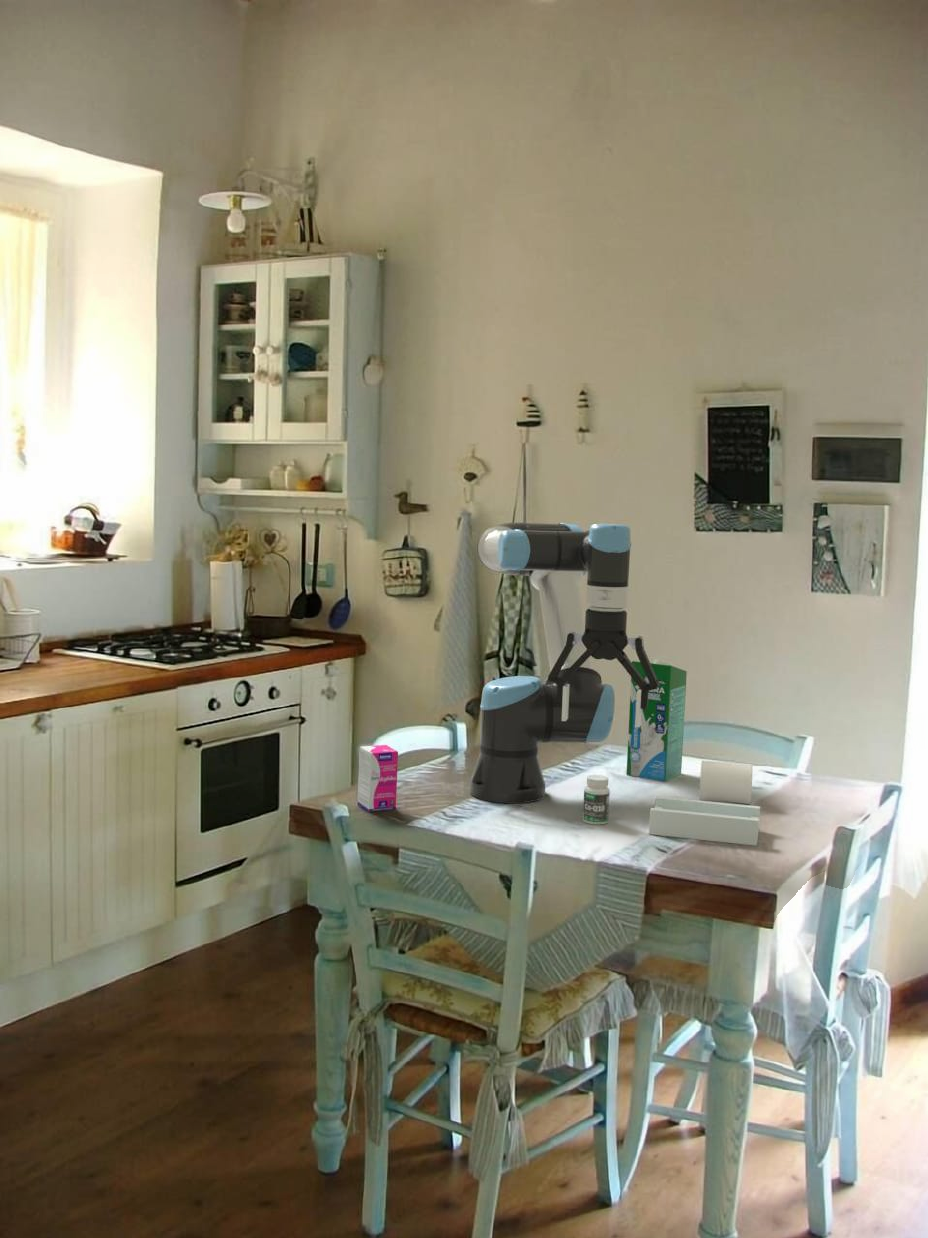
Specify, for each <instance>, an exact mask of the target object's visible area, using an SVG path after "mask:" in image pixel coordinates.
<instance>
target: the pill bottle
mask: <svg viewBox="0 0 928 1238" xmlns="http://www.w3.org/2000/svg"><path fill="white" fill-rule="evenodd" d="M608 786H609V777H608V776H606V775H601V774H590V775H587V777H586V786H585V787H584V790H583V805H582V807H583V808H582V809H583V810H582V812H583V813H582V820H583V822H584V823H586V824H589V825H595V826H596V825H598V826H599V825H600V826H601V825H605V824H607V823H608V822H609V812H610V811H609V807H610V791H611V790H610V788H609V787H608Z"/></svg>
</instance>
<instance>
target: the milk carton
mask: <svg viewBox="0 0 928 1238" xmlns="http://www.w3.org/2000/svg"><path fill="white" fill-rule="evenodd" d="M631 663H632V664H633V665H634V666H635V668H636V669H637V670H638V672H639V673H640V674H641V676H642V677H643V678H644V680H645V681H646V682H647V683H649V681H648V678H647V676H646V674H645V672H644V669H643V667H642V665H641V662H640V661H638V660H637V661H636V660H631ZM650 664H651V666H652V668H653V670H654V673H655V675H656V677H657V680H658V682H659V686H658V687H657V689H653V690H650V691H649V693H648V706H647V708H646V709H642V713H641V725H640V727H635V719H636V699H637V691H638V690H641V689H640V688H639V686H638V685H637V684H636V683H635V681H634V680H633V679H632V677H631V676H630V689H629V690H630V692H629V693H630V697H629V713H628V714H629V715H628V716H629V717H628V733H627V735H628V736H627V751H626V752H627V753H626V755H627V756H626V775H627V776H632V777H636V778H643V779H649V780H654V781H660V782H666V781H668V780H670V779H672V778H674V777H676V776H678V775H681V774H682V765H683V750H684V749H683V746H684V745H683V744H684V743H683V742H684V728H685V712H686V711H685V710H686V708H685V707H686V692H687V691H686V690H687V689H686V688H687V675H688V674H687V673H688V672H687V670H684V669H682V668H678V667H676V666H673V663H672V662H671V661H666V660H661V659H654V661H653V662H650Z"/></svg>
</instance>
